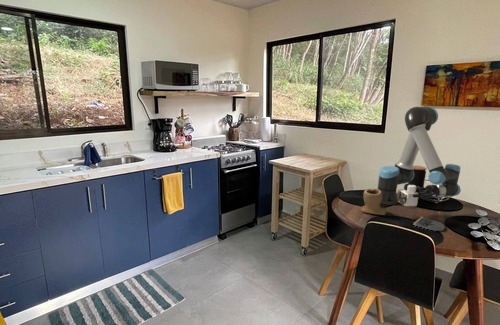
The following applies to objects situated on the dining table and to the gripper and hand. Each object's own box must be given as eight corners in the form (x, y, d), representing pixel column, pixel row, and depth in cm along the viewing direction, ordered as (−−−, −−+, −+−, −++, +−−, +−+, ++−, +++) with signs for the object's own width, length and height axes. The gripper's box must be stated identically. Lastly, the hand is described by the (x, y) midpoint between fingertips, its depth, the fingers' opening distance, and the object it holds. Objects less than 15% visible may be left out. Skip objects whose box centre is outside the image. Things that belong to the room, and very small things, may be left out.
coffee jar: (425, 192, 214) (428, 169, 210) (409, 191, 216) (413, 168, 212) (419, 188, 224) (423, 165, 220) (405, 187, 227) (408, 165, 222)
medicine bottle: (398, 201, 172) (401, 182, 169) (409, 201, 172) (412, 182, 169) (405, 206, 165) (408, 186, 162) (417, 206, 165) (420, 186, 163)
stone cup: (359, 214, 174) (361, 190, 170) (361, 207, 184) (364, 185, 180) (386, 219, 167) (390, 194, 163) (387, 212, 177) (390, 189, 174)
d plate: (447, 226, 158) (447, 223, 158) (440, 233, 150) (440, 231, 149) (421, 219, 168) (421, 216, 167) (413, 225, 159) (413, 222, 159)
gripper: (448, 203, 162) (414, 206, 157) (420, 191, 182) (389, 193, 177) (451, 190, 160) (416, 193, 155) (422, 179, 180) (390, 181, 175)
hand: (402, 193), depth 166 cm, fingers closed on medicine bottle, 8 cm apart
